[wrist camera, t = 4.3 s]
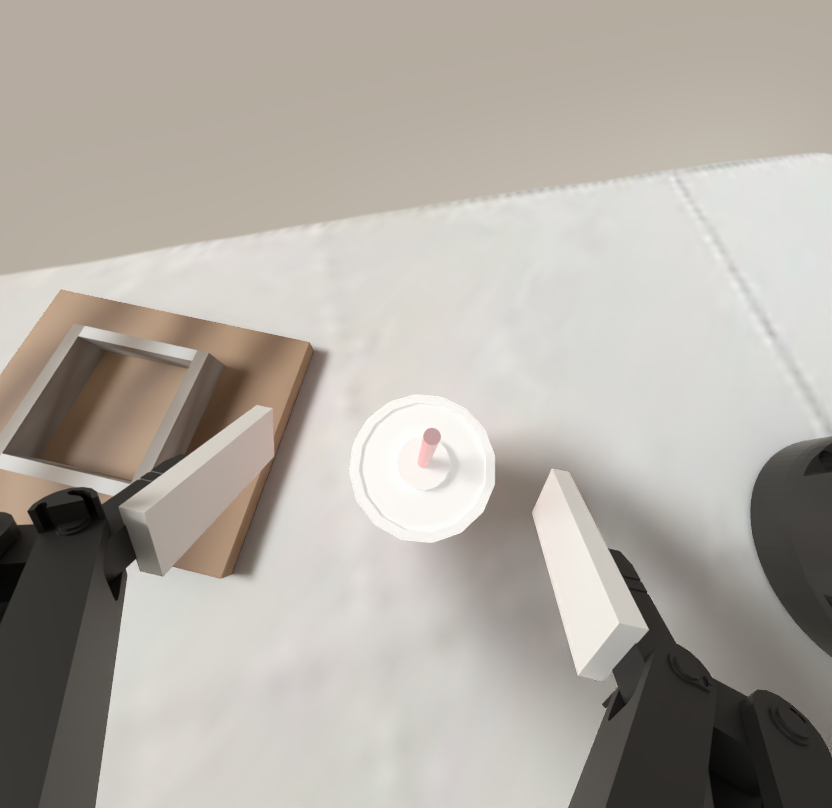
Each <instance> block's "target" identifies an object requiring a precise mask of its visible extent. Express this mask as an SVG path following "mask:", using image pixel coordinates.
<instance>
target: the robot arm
mask: <svg viewBox="0 0 832 808" xmlns="http://www.w3.org/2000/svg"><path fill="white" fill-rule="evenodd" d="M273 457H274V434H273V409H272V408H269V407H264V406H260V405H256V406H255V407H253V408H252V409H251V410H249V411H248V412H246V413H245V414H244V415H242V416H241V417H240V418H238V419H237V420H236V421H234V422H233V423H232V424H230V425H229V426H227V427H226V428H225V429H223V430H222V431H221V432H219V433H218V434H217V435H215V436H214V437H212V438H211V439H210V440H208V441H207V442H206V443H204V444H203V445H202V446H200V447H199V448H198V449H196V450H195V451H193V452H192V453H191V454H189V455H188V456H186V455H182V454H180V455H177V456H175V457H173V458H170V459H168V460H165V461H163V462H162V463H160V464H159V465H158V466H156V467H155V468H153V469H152V470H151V472H148V473H146V474H145V475H143V476H142V477H140V479H139V480H136V481H135V482H133V483H132V484H130V485H129V486H127V487H126V488H125V489H123V490H122V491H120V492H119V493H117V494H116V495H114V496H113V497H112V498H110V499H109V500H107V501H106V502H104V503H103V504H101V501H100V499H99V496H98V493H97V491H95V490H94V489H92V488H87V487H76V488H68V489H64V490H61V491H57V492H54V493H52V494H50V495H48V496H45V497H43V498H42V499H40V500H39V501H37V502H36V503H34V504H33V505H32V506H31V507H30V508H29V510H28V511H27V512H28V514H29V516H30V518H31V520H32V522H33V524H26V525H17V523H16V522H15V520H14V518H13V516H12V515H11V514H9V513H6V512H0V808H95V805H96V797H97V790H98V783H99V776H100V769H101V761H102V754H103V747H104V740H105V733H106V725H107V718H108V711H109V704H110V696H111V689H112V682H113V675H114V668H115V660H116V653H117V646H118V639H119V632H120V624H121V617H122V610H123V603H124V595H125V588H126V581H127V572H126V568H127V567H128V566H129V565H130V564H131V563H132V562H133V561H134V560H135V559H136V560H137V563H138V566H139V569H140V571H142V572H146V573H150V574H155V575H159V576H164V575H165V574H166V573H167V572H168V571H169V569H170V568H171V567H172V566H173V565H174V564H175V563H176V562H177V561H178V560H179V559H180V558H181V556H182V555H183V554H184V553H185V552H186V551H187V550H188V549H189V548H190V547H191V546H192V545H193V544H194V542H195V541H196V540H197V539H198V538H199V537H200V536H201V535H202V534H203V533H204V532H205V531H206V529H207V528H208V527H209V526H210V525H211V524H212V523H213V522H214V521H215V520H216V519H217V518H218V516H219V515H220V514H221V513H222V512H223V511H224V510H225V509H226V508H227V507H228V506H229V505H230V503H231V502H232V501H233V500H234V499H235V498H236V497H237V496H238V495H239V494H240V493H241V492H242V490H243V489H244V488H245V487H246V486H247V485H248V484H249V483H250V482H251V481H252V480H253V479H254V478H255V476H256V475H257V474H258V473H259V472H260V471H261V470H262V469H263V468H264V467H265V466H266V465H267V463H268V462H269V461H270V460H271V459H272V458H273ZM532 515H533V518H534V522H535V525H536V529H537V533H538V536H539V540H540V543H541V547H542V550H543V554H544V557H545V561H546V565H547V568H548V572H549V575H550V579H551V582H552V586H553V590H554V593H555V597H556V600H557V604H558V607H559V611H560V614H561V618H562V622H563V625H564V629H565V632H566V636H567V639H568V643H569V647H570V650H571V654H572V657H573V661H574V664H575V668H576V671H577V675H578V676H581V677H585V678H589V679H593V680H598V681H602V682H604V681H605V679H606V678H607V677H608V676H609V675H610V674H611V673H612V671H613V674H614V677H615V679H616V682H617V685H618V688H617V689H616V690H615V691H614V692H613V693H612V694H611V695H610V696H609V697H608V698H607V699H606V701H605V702H604V703H603V704H602V705H603V706H604V707H605V708H607V710H606V713H605V715H604V718H603V720H602V723H601V725H600V728H599V730H598V733H597V736H596V738H595V741H594V743H593V746H592V748H591V751H590V753H589V756H588V759H587V761H586V764H585V766H584V769H583V771H582V774H581V776H580V779H579V781H578V784H577V787H576V789H575V792H574V794H573V797H572V799H571V802H570V804H569V807H568V808H832V757H831V754H830V752H829V749H828V747H827V746H826V744H825V742H824V740H823V739H822V737H821V735H820V734H819V732H818V731H817V730H816V729H815V728H814V726H813V725H812V724H811V723H810V722H809V720H808V719H807V718H806V717H805V716H804V715H802V714H801V713H800V712H799V711H798V710H797V709H796V708H795V707H794V706H793V705H791V704H790V703H788V702H787V701H785V700H784V699H783V698H781V697H780V696H778V695H776V694H773V693H771V692H769V691H767V690H757V691H755V692H754V693H752V694H751V695H750V696H748V697H747V696H745V695H743V694H742V693H740V692H738V691H736V690H734V689H732V688H730V687H728V686H726V685H725V684H723V683H721V682H719V681H717V680H715V679H713V678H712V677H711V675H710V673H709V672H708V670H707V669H706V668H705V667H704V665H703V664H702V663H701V662H700V661H699V660H698V659H697V658H696V657H695V656H694V655H693V654H692V653H690V652H689V651H688V650H686V649H685V648H683V647H682V646H680V645H678V644H676V642H675V641H674V639H673V637H672V635H671V634H670V632H669V630H668V628H667V626H666V625H665V623H664V621H663V619H662V618H661V616H660V614H659V612H658V610H657V609H656V607H655V605H654V603H653V601H652V600H651V598H650V596H649V595H648V594H647V591H646V589H645V587H644V585H643V583H642V582H640V578H639V576H638V574H637V573H636V571H635V569H634V567H633V565H632V564H631V563H630V562H629V561H628V560H627V559H626V558H625V557H624V555H623V554H622V553H621V552H620V551H617V550H613V549H608V548H607V546H606V544H605V542H604V540H603V538H602V536H601V534H600V532H599V530H598V528H597V526H596V524H595V522H594V520H593V518H592V516H591V514H590V512H589V510H588V508H587V506H586V504H585V502H584V500H583V498H582V496H581V494H580V492H579V490H578V488H577V486H576V484H575V482H574V480H573V478H572V476H571V475H570V473H569V472H568V471H563V470H559V469H554V468H552V469H551V472H550V474H549V476H548V478H547V480H546V483H545V485H544V487H543V489H542V492H541V494H540V496H539V498H538V500H537V503H536V505H535V507H534V509H533V511H532ZM751 527H752V534H753V539H754V543H755V547H756V550H757V554H758V557H759V560H760V562H761V565H762V567H763V570H764V572H765V574H766V576H767V578H768V580H769V582H770V584H771V586H772V588H773V590H774V592H775V593H776V595H777V596H778V598H779V600H780V601H781V603H782V604H783V606H784V607H785V608H786V610H787V611H788V613H789V614H790V615H791V617H792V618H793V619H794V620H795V622H796V623H797V624H798V625H799V626H800V627H801V629H802V630H803V631H804V632H805V633H806V634H807V635H808V636H809V637H810V638H811V639H812V640H813V641H814V642H815V643H816V644H817V645H818V646H819V647H820V648H821V649H823V650H824V651H825V652H826V653H827V654H828V655H830V656H831V657H832V436H831V437H825V438H819V439H814V440H808V441H803V442H799V443H795V444H792V445H790V446H788V447H786V448H784V449H782V450H780V451H779V452H778V453H776V454H775V455H774V456H773V457H771V459H770V460H769V461H768V462H767V463H766V464H765V466H764V467H763V468H762V470H761V472H760V473H759V475H758V478H757V480H756V483H755V485H754V489H753V493H752V499H751Z"/></svg>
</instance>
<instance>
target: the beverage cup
mask: <svg viewBox="0 0 832 808" xmlns="http://www.w3.org/2000/svg"><path fill="white" fill-rule="evenodd" d="M349 474H350V478H351V482H352V486H353V490H354V494H355V498H356V501H357V502H358V504H359V505H360V506H361V508H362V509H363V510H364V512H365V513H366V514H367V516H368V517H369V518H370V520H371V521H372V522H373V524H374V525H376V526H377V527H379V528H381V529H383V530H385V531H386V532H388V533H390V534H392V535H393V536H395V537H397V538H399V539H400V540H407V541H418V542H428V543H433V542H436V541H439V540H442V539H445V538H448V537H450V536H453V535H456V534H459V533H462V532H463V531H464V530H465V529H466V528H467V527H468V526H469V525H470V524H471V523H472V522H473V521H474V520H475V519H476V518H477V517H478V516H479V515H481V514H482V513H483V511H484V509H485V507H486V504H487V502H488V500H489V497H490V495H491V493H492V490H493V488H494V486H495V454H494V451H493V449H492V446H491V444H490V441H489V439H488V436H487V433H486V431H485V429H484V428H483V427H482V425H481V424H480V423H479V422H478V421H477V420H476V419H475V418H474V417H473V416H472V415H471V414H470V413H469V411H468V410H467V409H466V408H464V407H461V406H459V405H457V404H455V403H453V402H451V401H449V400H447V399H445V398H443V397H439V396H428V395H417V394H414V395H411V396H408V397H404V398H401V399H397V400H394V401H390V402H388V403H387V404H386V405H384V406H383V407H382V408H380V409H379V410H378V411H377V412H375V413H374V414H373V415H371V416H370V417H369V418H368V419H367V420H366V422H365V424H364V425H363V427H362V429H361V430H360V432H359V434H358V435H357V437H356V439H355V440H354V442H353V447H352V454H351V461H350V467H349Z"/></svg>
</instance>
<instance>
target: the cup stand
mask: <svg viewBox="0 0 832 808" xmlns="http://www.w3.org/2000/svg"><path fill="white" fill-rule="evenodd" d="M313 351H314V349H313V348H312V346H311V344H310V343H309V342H306V341H301V340H296V339H291V338H287V337H282V336H277V335H273V334H268V333H263V332H258V331H254V330H249V329H244V328H240V327H235V326H230V325H225V324H221V323H216V322H211V321H206V320H202V319H197V318H192V317H188V316H183V315H178V314H173V313H169V312H164V311H159V310H155V309H150V308H145V307H140V306H136V305H131V304H126V303H122V302H117V301H112V300H107V299H103V298H98V297H93V296H89V295H84V294H79V293H74V292H70V291H65V290H60V291H59V293H58V294H57V296H56V297H55V298H54V300H53V301H52V303H51V304H50V305H49V307H48V308H47V310H46V311H45V312H44V314H43V315H42V317H41V318H40V320H39V321H38V322H37V324H36V325H35V327H34V328H33V329H32V331H31V332H30V334H29V335H28V336H27V338H26V339H25V341H24V342H23V343H22V345H21V346H20V348H19V349H18V351H17V352H16V353H15V355H14V356H13V358H12V359H11V360H10V362H9V363H8V365H7V366H6V367H5V369H4V370H3V372H2V373H1V374H0V512H6V513H9V514H11V515H12V516H13V518H14V520H15V522H16V523H17V525H26V524H33V522H32V520H31V518H30V516H29V514H28V512H27V511H28V510H29V508H30V507H31V506H32V505H33V504H34V503H36V502H37V501H39V500H40V499H42V498H43V497H45V496H48V495H50V494H52V493H54V492H57V491H61V490H64V489H68V488H76V487H87V488H92V489H94V490H95V491H97V493H98V496H99V499H100V501H101V504H103V503H104V502H106V501H107V500H109V499H110V498H112V497H113V496H114V495H116V494H117V493H119V492H120V491H122V490H123V489H125V488H126V487H127V486H129V485H130V484H132V483H133V482H135V481H136V480H139V479H140V477H142V476H143V475H145V474H146V473H148V472H151V470H152V469H153V468H155V467H156V466H158V465H159V464H160V463H162V462H163V461H165V460H168V459H170V458H173V457H175V456H177V455H180V454H182V455H186V456H188V455H189V454H191V453H192V452H193V451H195V450H196V449H198V448H199V447H200V446H202V445H203V444H204V443H206V442H207V441H208V440H210V439H211V438H212V437H214V436H215V435H217V434H218V433H219V432H221V431H222V430H223V429H225V428H226V427H227V426H229V425H230V424H232V423H233V422H234V421H236V420H237V419H238V418H240V417H241V416H242V415H244V414H245V413H246V412H248V411H249V410H251V409H252V408H253V407H255V406H256V405H260V406H264V407H269V408H272V409H273V434H274V457H275V455H276V452H277V449H278V446H279V444H280V441H281V438H282V436H283V433H284V430H285V427H286V425H287V422H288V419H289V416H290V414H291V411H292V408H293V406H294V403H295V400H296V397H297V395H298V392H299V389H300V386H301V384H302V381H303V378H304V376H305V373H306V370H307V367H308V365H309V362H310V359H311V356H312V354H313ZM274 457H273V458H272V459H271V460H270V461H269V462H268V463H267V465H266V466H265V467H264V468H263V469H262V470H261V471H260V472H259V473H258V474H257V475H256V476H255V478H254V479H253V480H252V481H251V482H250V483H249V484H248V485H247V486H246V487H245V488H244V489H243V490H242V492H241V493H240V494H239V495H238V496H237V497H236V498H235V499H234V500H233V501H232V502H231V503H230V505H229V506H228V507H227V508H226V509H225V510H224V511H223V512H222V513H221V514H220V515H219V516H218V518H217V519H216V520H215V521H214V522H213V523H212V524H211V525H210V526H209V527H208V528H207V529H206V531H205V532H204V533H203V534H202V535H201V536H200V537H199V538H198V539H197V540H196V541H195V542H194V544H193V545H192V546H191V547H190V548H189V549H188V550H187V551H186V552H185V553H184V554H183V555H182V556H181V558H180V559H179V560H178V561H177V562H176V563H175V564H174V565H173V566H172V567H176V568H180V569H184V570H188V571H192V572H196V573H200V574H204V575H208V576H212V577H216V578H220V579H221V578H224V577H226V576H229V575H232V572H233V569H234V567H235V564H236V561H237V558H238V556H239V553H240V550H241V548H242V545H243V542H244V539H245V537H246V534H247V531H248V528H249V526H250V523H251V520H252V517H253V515H254V512H255V509H256V507H257V504H258V501H259V498H260V496H261V493H262V490H263V487H264V485H265V482H266V479H267V477H268V474H269V471H270V468H271V466H272V463H273V460H274Z"/></svg>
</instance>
